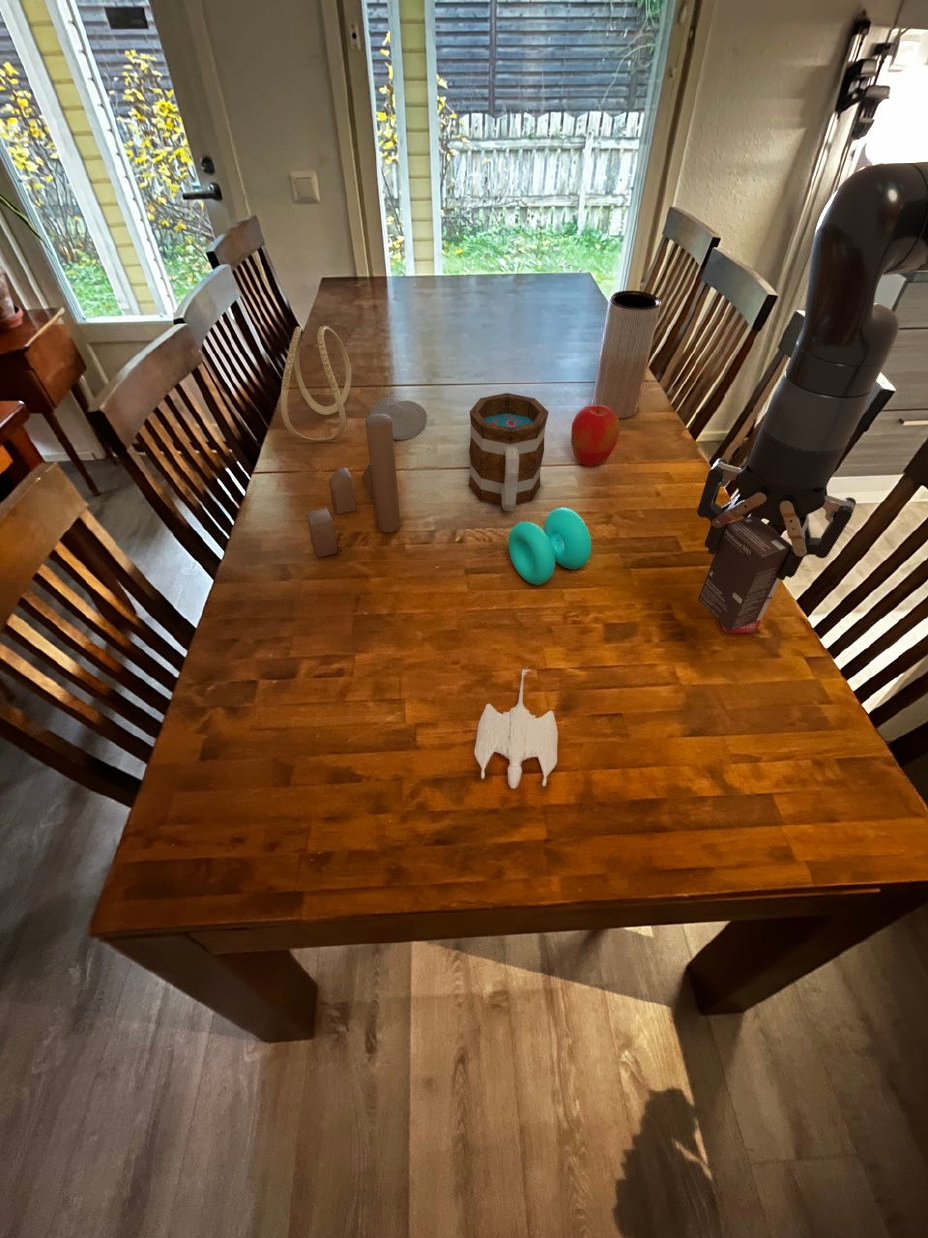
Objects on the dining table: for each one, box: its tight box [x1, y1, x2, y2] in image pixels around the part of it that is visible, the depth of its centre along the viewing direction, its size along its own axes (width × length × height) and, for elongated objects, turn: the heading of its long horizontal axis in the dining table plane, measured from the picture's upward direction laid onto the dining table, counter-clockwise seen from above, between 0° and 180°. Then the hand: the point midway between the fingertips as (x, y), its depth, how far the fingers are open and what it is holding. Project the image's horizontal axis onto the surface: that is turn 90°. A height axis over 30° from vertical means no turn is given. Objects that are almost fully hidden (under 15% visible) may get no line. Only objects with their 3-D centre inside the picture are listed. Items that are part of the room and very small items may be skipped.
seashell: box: [369, 396, 428, 441], centre depth 130 cm, size 12×6×10 cm
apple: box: [570, 404, 621, 467], centre depth 119 cm, size 9×9×12 cm
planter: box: [591, 290, 662, 419], centre depth 130 cm, size 10×10×23 cm
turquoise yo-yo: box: [507, 507, 592, 585], centre depth 97 cm, size 10×10×10 cm
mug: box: [468, 392, 549, 512], centre depth 110 cm, size 20×14×15 cm
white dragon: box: [473, 665, 559, 789], centre depth 78 cm, size 18×10×4 cm, turn 172°
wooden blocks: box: [305, 414, 401, 558], centre depth 104 cm, size 17×20×20 cm
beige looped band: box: [280, 325, 352, 443], centre depth 125 cm, size 22×12×20 cm, turn 4°
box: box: [697, 515, 793, 631], centre depth 71 cm, size 6×4×12 cm
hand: (747, 562), depth 69 cm, fingers closed on box, 7 cm apart
